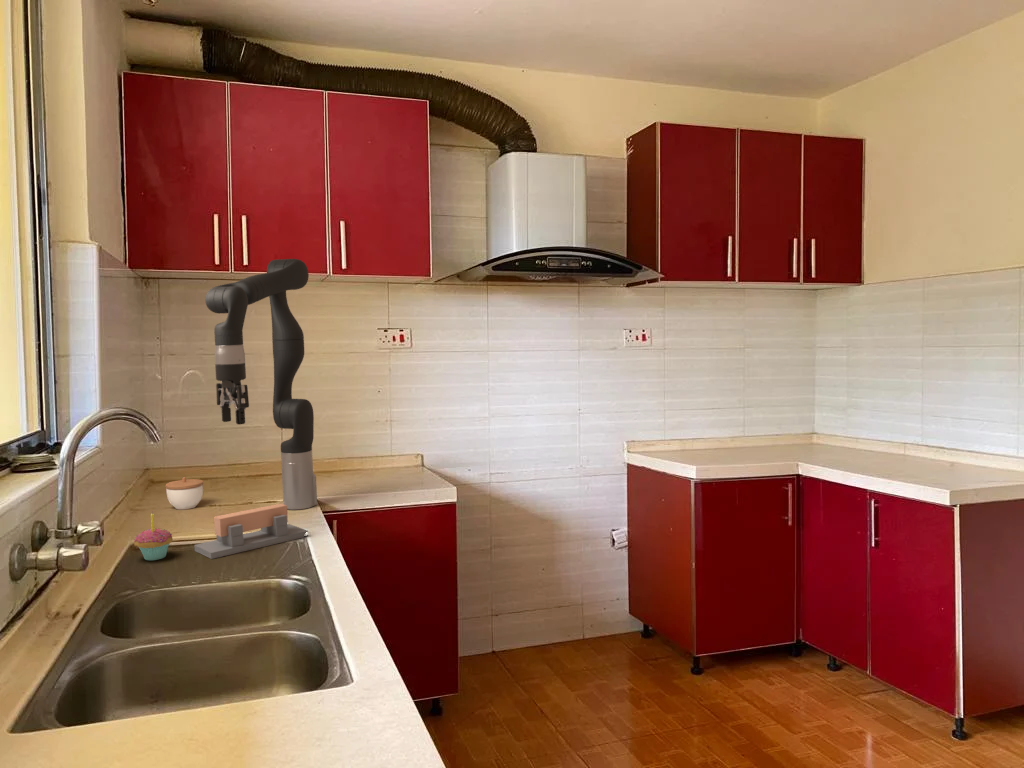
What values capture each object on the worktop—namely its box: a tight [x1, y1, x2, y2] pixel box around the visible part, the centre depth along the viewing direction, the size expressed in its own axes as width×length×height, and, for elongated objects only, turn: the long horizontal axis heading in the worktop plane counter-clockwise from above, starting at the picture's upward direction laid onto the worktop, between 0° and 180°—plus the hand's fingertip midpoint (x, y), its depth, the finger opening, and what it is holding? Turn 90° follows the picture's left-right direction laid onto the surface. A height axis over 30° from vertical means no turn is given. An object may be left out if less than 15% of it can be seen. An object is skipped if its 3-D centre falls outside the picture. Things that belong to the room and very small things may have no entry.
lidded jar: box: [165, 476, 204, 511], centre depth 241 cm, size 11×11×9 cm
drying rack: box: [193, 515, 309, 560], centre depth 200 cm, size 26×10×6 cm, turn 134°
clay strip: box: [213, 503, 289, 537], centre depth 200 cm, size 18×4×4 cm, turn 134°
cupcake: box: [133, 511, 173, 561], centre depth 190 cm, size 9×8×12 cm
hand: (233, 422), depth 208 cm, fingers open, 8 cm apart
